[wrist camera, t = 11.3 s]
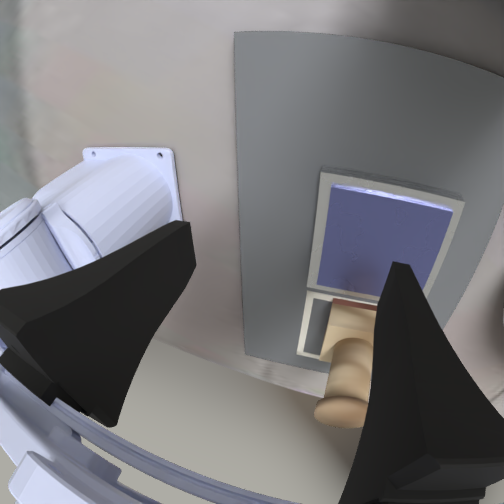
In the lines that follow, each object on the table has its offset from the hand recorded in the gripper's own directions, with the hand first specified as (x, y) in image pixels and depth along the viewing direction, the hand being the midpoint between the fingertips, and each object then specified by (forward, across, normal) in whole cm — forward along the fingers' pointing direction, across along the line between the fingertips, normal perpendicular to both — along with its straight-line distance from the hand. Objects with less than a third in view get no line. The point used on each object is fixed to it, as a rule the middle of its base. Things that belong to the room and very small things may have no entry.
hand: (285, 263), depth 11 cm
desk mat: (+10, -4, +7) cm, 13 cm away
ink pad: (+10, -4, +5) cm, 12 cm away
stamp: (+10, -5, +13) cm, 17 cm away
